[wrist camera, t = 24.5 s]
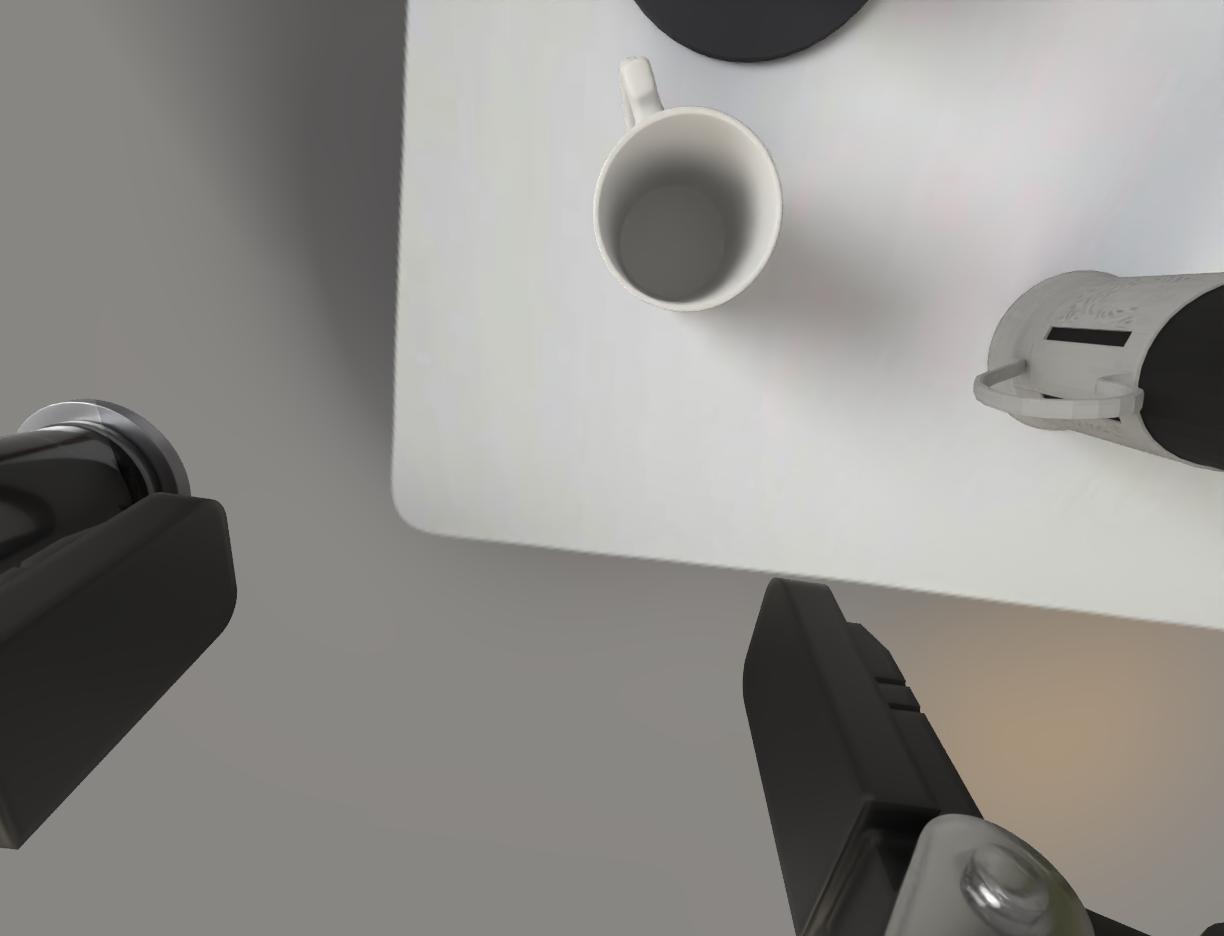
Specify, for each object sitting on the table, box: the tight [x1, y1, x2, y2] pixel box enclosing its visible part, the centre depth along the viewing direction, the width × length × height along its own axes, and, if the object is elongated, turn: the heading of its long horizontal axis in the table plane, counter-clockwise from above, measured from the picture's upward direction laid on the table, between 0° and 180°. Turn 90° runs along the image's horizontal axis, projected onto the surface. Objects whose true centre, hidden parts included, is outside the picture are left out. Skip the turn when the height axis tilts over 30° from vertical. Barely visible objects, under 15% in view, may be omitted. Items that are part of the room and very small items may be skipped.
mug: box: [593, 57, 783, 312], centre depth 27 cm, size 10×7×12 cm, turn 20°
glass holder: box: [973, 271, 1224, 472], centre depth 26 cm, size 9×14×15 cm, turn 96°
